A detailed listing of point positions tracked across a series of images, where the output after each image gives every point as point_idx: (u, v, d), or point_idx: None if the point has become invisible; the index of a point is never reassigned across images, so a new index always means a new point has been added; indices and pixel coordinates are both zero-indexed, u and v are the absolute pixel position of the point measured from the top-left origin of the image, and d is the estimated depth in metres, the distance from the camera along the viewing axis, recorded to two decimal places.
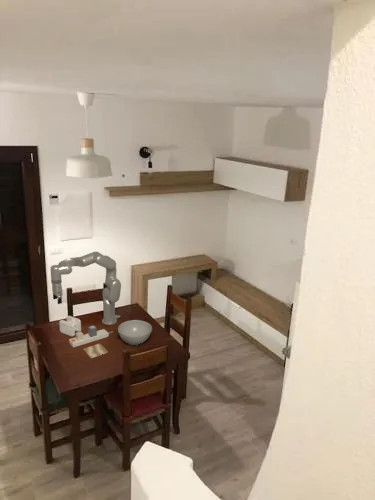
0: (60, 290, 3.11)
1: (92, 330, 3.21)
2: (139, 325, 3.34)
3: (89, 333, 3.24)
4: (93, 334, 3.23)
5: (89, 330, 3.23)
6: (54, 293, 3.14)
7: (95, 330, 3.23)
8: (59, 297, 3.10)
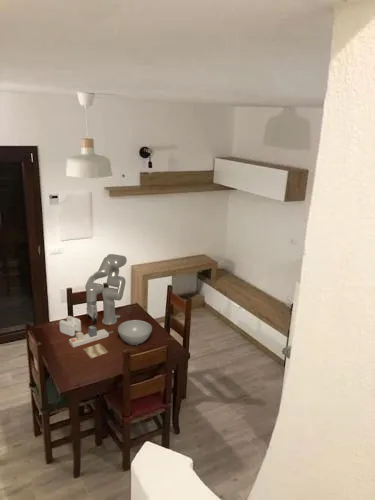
0: (95, 311, 3.15)
1: (92, 330, 3.21)
2: (139, 325, 3.34)
3: (89, 333, 3.24)
4: (93, 334, 3.23)
5: (89, 330, 3.23)
6: (89, 314, 3.17)
7: (95, 330, 3.23)
8: (94, 318, 3.13)
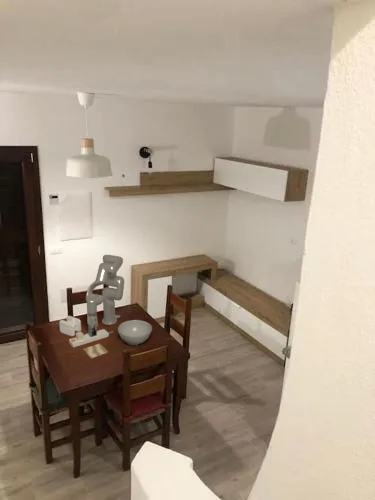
0: (96, 322, 3.18)
1: None
2: (139, 325, 3.34)
3: (89, 333, 3.24)
4: None
5: (89, 330, 3.23)
6: (90, 325, 3.21)
7: None
8: (94, 329, 3.19)
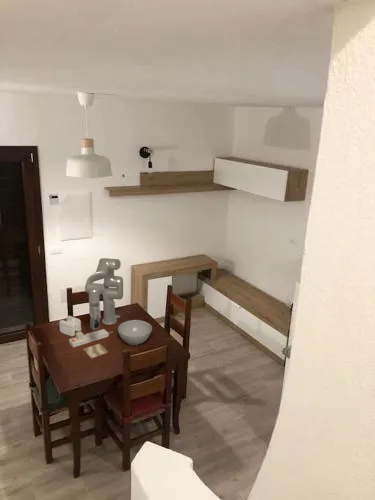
0: (98, 313, 2.96)
1: (94, 322, 2.99)
2: (139, 325, 3.34)
3: (91, 325, 3.01)
4: None
5: (91, 322, 3.00)
6: (92, 316, 2.98)
7: None
8: (96, 321, 2.96)
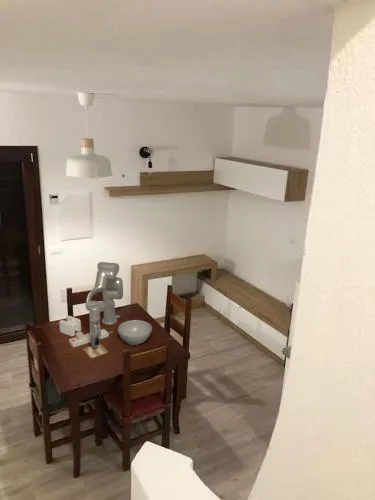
0: (99, 331, 3.00)
1: None
2: (139, 325, 3.34)
3: (91, 342, 3.06)
4: None
5: (92, 339, 3.05)
6: (92, 334, 3.03)
7: None
8: (97, 338, 3.01)
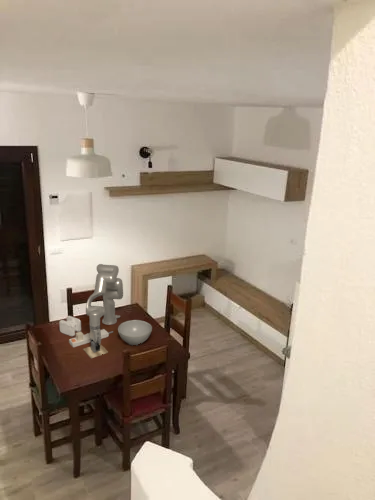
0: (99, 336, 3.02)
1: (95, 345, 3.05)
2: (139, 325, 3.34)
3: (92, 348, 3.08)
4: None
5: (92, 345, 3.07)
6: (92, 339, 3.04)
7: None
8: (98, 344, 3.01)
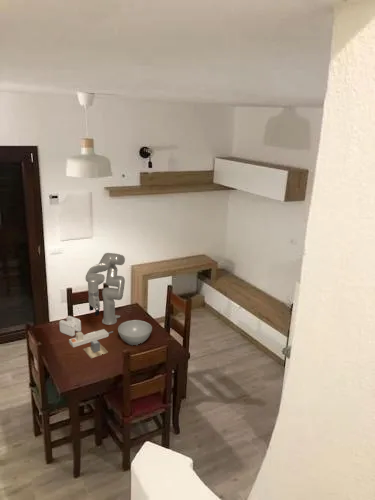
0: (98, 302, 3.08)
1: (95, 345, 3.05)
2: (139, 325, 3.34)
3: (92, 348, 3.08)
4: (96, 349, 3.07)
5: (92, 345, 3.07)
6: (91, 305, 3.11)
7: (98, 345, 3.07)
8: (97, 309, 3.07)
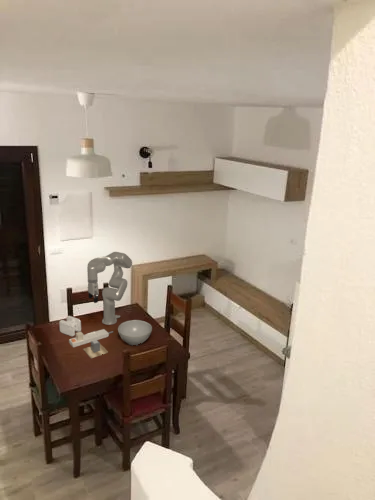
0: (96, 289, 3.17)
1: (95, 345, 3.05)
2: (139, 325, 3.34)
3: (92, 348, 3.08)
4: (96, 349, 3.07)
5: (92, 345, 3.07)
6: (90, 292, 3.20)
7: (98, 345, 3.07)
8: (96, 296, 3.16)
